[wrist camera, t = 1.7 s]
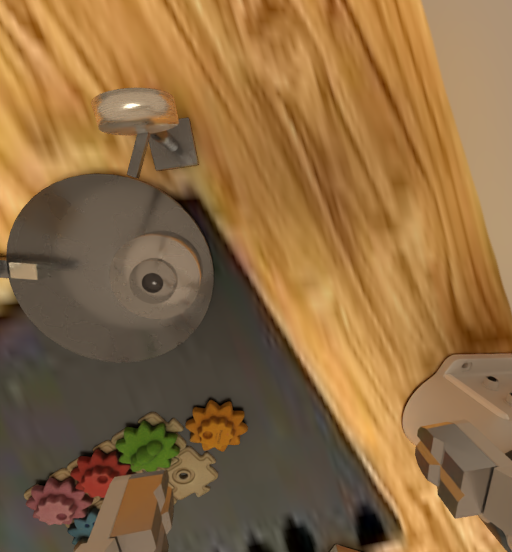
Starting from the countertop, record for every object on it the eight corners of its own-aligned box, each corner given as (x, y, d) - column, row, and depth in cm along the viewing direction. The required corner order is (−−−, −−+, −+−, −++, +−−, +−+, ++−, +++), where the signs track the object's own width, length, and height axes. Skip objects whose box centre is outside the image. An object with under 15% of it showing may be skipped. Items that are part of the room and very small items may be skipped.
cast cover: (194, 224, 28) (187, 230, 23) (209, 298, 30) (206, 316, 26) (113, 237, 27) (91, 246, 23) (135, 311, 30) (119, 331, 25)
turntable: (192, 160, 27) (183, 152, 22) (228, 339, 33) (229, 367, 28) (-58, 197, 26) (-133, 198, 20) (27, 376, 32) (-14, 414, 26)
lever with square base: (192, 120, 26) (158, 49, 13) (203, 177, 28) (182, 163, 15) (145, 126, 26) (64, 61, 13) (159, 183, 28) (99, 176, 15)
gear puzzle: (210, 367, 35) (209, 388, 31) (277, 444, 40) (283, 472, 36) (21, 488, 37) (-3, 522, 34) (105, 547, 42) (93, 583, 38)
